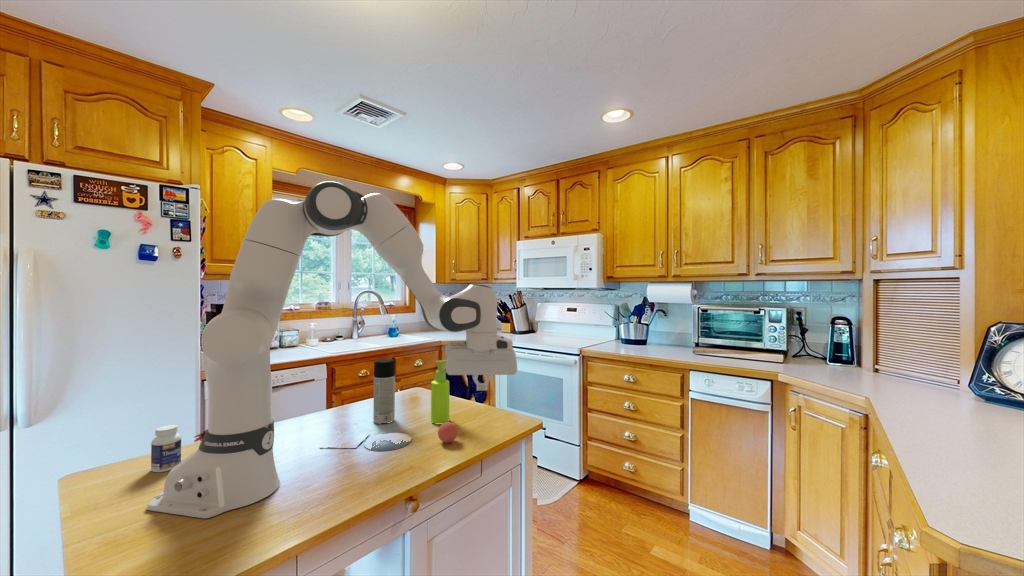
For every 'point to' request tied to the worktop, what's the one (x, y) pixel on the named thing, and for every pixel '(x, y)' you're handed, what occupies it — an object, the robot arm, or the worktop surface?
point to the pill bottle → (165, 449)
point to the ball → (447, 432)
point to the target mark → (387, 445)
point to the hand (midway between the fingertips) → (481, 390)
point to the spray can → (384, 390)
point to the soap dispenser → (440, 395)
